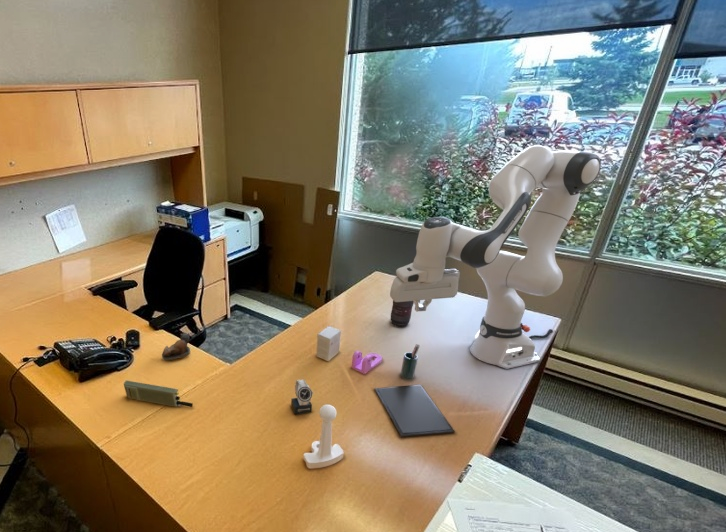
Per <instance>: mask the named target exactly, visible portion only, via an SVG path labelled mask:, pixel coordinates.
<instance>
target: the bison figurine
mask: <svg viewBox="0 0 726 532" xmlns="http://www.w3.org/2000/svg"><path fill="white" fill-rule="evenodd" d="M179 338H180V339H178V340H176V341H175V342H174V343H172V344H171V345H170V346H168V345H165V347H164V348H163V351H162V353H161V358H162V359H163V360H164V361H172V360H177V359H181V358H185V357H187V356H189V355H190V353H191V348H190V347H189V346H188V344H189V342H190V339H191V338H190V333H189V332H183V333H180V337H179Z"/></svg>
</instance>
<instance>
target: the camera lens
mask: <svg viewBox="0 0 726 532" xmlns="http://www.w3.org/2000/svg"><path fill="white" fill-rule="evenodd" d="M414 305H415V304H414V302H413V301H404V302H395V301H394V300H393V299H392V305H391V311H390V323H391V325H392V326H393V327H395V328H406V327H407V326H408V325H409V323H410V321H411V317H412V311H413V307H414Z"/></svg>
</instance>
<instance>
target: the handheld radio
mask: <svg viewBox="0 0 726 532" xmlns="http://www.w3.org/2000/svg"><path fill="white" fill-rule="evenodd" d="M123 386H124V391H125V394H126V398H127V399H130V400H131V399H132V400H136V401H142V402H148V403H152V404H158V405H164V406H169V407H175V408H176V407H181V406H183V407H190V408H193V402H188V401H180V399H181V398H180V395H179V388H174V387H167V386H163V385H156V384H151V383H143V382H137V381H133V380H125V381H124V382H123Z"/></svg>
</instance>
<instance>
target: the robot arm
mask: <svg viewBox="0 0 726 532" xmlns="http://www.w3.org/2000/svg"><path fill="white" fill-rule="evenodd" d="M601 167H602V163H601V160H600V156H599V155H597V154H595V153H593V152H590V151H583V150H582V151H574V150H555V151H554V150H553V151H552V150H551V149H549V148H548V147H546V146H544V145H531V146H528V147H526V148H525V149H523V150H522V151H520V152H519V153H518V154H516V155H515V156H514V157H513V158H511V159H510V160H509V161H508V162H506V163H505V164H504V166H502V167H501V168H500V169H499V170H498V172H496V173H495V174H494V175H493V177H492V178H491V180H490V182H489V183H488V195H489V197H490V199H491V200H492V202H493V203H494V204H495V205H496V206H497V207H499V208H500V209H501V210H502V213H500V215H499V216H498V217H497V219H496V220H495V222H494V223H493V224H492V226H491V227H490V228H488V229H486V230H478V229H475V228H471V227H468V226H465V225H463V224H462V225H461V224H458V223H455V222H452V220H451V219H450V218H449V217H446V216H445V217H444V216H433V217H430V218H428V219H426V220H424V221H423V222H422V225H421V227H420V229H419V232H418V236H417V240H416V245H415V250H416V253H415V257H414V258H413V262H411V263H409V264H406V265H404V266H401V267H398V268H397V269H396V270H395V275H396V276H395V277H394V278H393V279H392V283H391V287H390V292H389V297H390V299H392V301H393V300H394V301H395V302H404V301H413V302H414V304H413V305H414V311H415V312H417V313H418V312H426V311H427V307H428V306H429V305H430V304H431V303H432V302H433V300H439V299H452V298H455V297H456V296H457V295H458V290H459V280H460V276H461V273H460V271H459V270H457V269H456V268H450V269H445V268H446V264H447V263H446V262H447V261H446V258H451V259H454V260H457V261H459V262H462V263H464V264H466V265H468V266H470V267H471V268H474V269H476V273H477V275H478V276H479V277H480V279H482V281H483V284H484V285H485V288H486V293H487V303H486V308H485V313H484V316H483V317H482V319H481V321H480V325H479V330H478V332H477V333H476V334H475V336H474V338H475V340H474V341H473V343H472V345H470V347H469V352H470V353H471V355H472V356H473V357H475V358H476V359H477V360H480V361H481V362H483V363H486V364H489V365H490V364H491V365H495V366H498V367H500V368H501V369H506V370H508V369H514V368H517V367H521V366H526V365H530V364H535V363H540V360H541V357H540V354H539V353H538V352H537V351H536V350H535V349H536V344H535V343H534V341H533V340H532V339H536V338H537V339H544V338H547V337H549V336H550V335H551V333H553V332H554V331H553V329H551V328H549V329H548V331H547V332H546V333H545V334H544V335H538V334H534V335H529V336H528V335H527V334H525V333H529V332H530V331H531V327H529V326H528V325H527V324H523V323H522V319H523V317H524V314H525V311H526V303H525V301H524V300H523V299H522V297H521V296H520V295H519V294H518V292H517V291H519V292H522V293H525V294H528V295H533V296H539V297H548V296H551V295H553V294H555V293H556V292H557V291H559V289H560V288H561V286H562V284H563V280H564V274H563V271H562V269H561V268H560V267H559V265H558V263H557V260H556V248H557V245H558V242H559V240H560V238H561V236H562V234H563V232H564V230H565V229H566V227H567V225H568V223H569V221H570V220H571V218H572V216H573V214H574V212H575V209H576V207H577V205H578V202H579V199H580V196H581V195H580V194H581V193H582V192H583V191H584V190H585V189H587V188H588V187H589V186H591V185H592V184H593V183H594V181H596V179H597V178H598V176H599V174H600V172H601ZM536 188H539V189H541V193H540V195H539V196H538V198H537V199H536V200H535V202H534V204H532V196H531V193H532V192H533V191H534V190H535V189H536ZM531 204H532V207H531ZM530 207H531V208H530ZM527 212H528V213H527ZM526 213H527V215H526ZM525 216H526V217H525ZM524 217H525V219H524V220H523V223H522V225H521V226H520V228H519V230H518V235H517V236H518V240H519V241H520V242H521V243H522V244H523V245H524V246H525V247H526V248H527V249H526V250H527V251H526V254H525V255H520V254H516V253H512V252H509V251H506V250H501V249H502V248H503V246H504V244H505V243H506V241H507V240H508V239H509V237H510V236H511V235H512V234H513V232H514V231H515V229H516V228H517V227H518V225H519V224H520V223H521V221H522V219H523V218H524ZM421 301H423V302H422V304H421Z"/></svg>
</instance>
